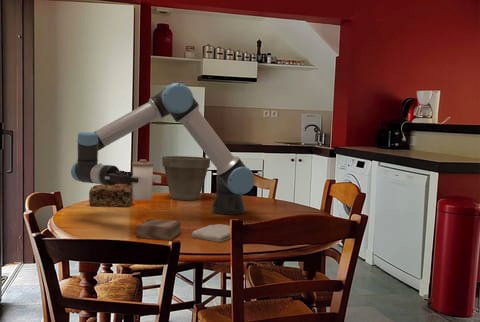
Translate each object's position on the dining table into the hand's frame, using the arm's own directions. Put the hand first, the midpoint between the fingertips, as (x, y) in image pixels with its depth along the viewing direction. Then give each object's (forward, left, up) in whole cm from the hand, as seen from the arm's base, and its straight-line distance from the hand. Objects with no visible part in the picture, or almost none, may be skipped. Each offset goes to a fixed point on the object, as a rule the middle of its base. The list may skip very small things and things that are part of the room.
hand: (153, 180), depth 167 cm
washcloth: (-24, -3, -19) cm, 31 cm away
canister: (+5, -2, -7) cm, 9 cm away
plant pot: (+8, -79, -19) cm, 81 cm away
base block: (-4, +3, -19) cm, 19 cm away
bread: (+35, -46, -19) cm, 61 cm away
